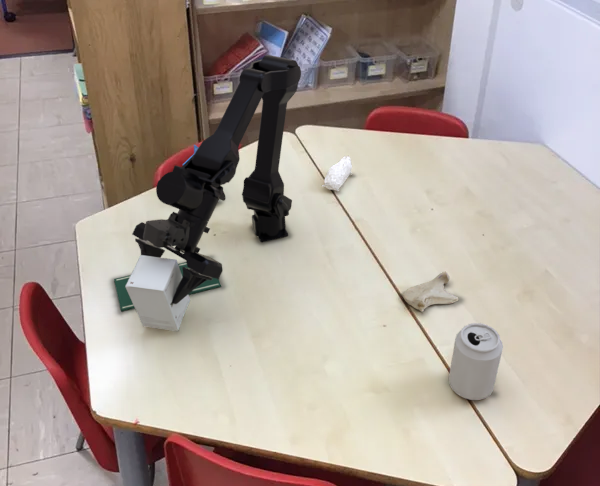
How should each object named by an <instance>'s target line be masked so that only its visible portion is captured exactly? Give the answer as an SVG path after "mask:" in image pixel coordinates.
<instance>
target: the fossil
mask: <svg viewBox="0 0 600 486" xmlns="http://www.w3.org/2000/svg"><path fill="white" fill-rule="evenodd" d="M450 279H451V278H450V275H449V273H448V272H447V271H442V272H440V273H439V274H438V275H436V277H434V278H433V279H431V280H428V281H426V282H423V283H421V284H417V285H414V286H411V287H409V288H407V289H406V290H405V291H404V292H403V294H402V297H403V299H404V301H405V302H406V303H407V305H410V306H412V308H414V309H416V310H417V311H420V312H424V310H425V309H426V308H428V307H429V306H432V305H449V304H450V305H451V304H454V303H456V302H458V301H459V297H458V296H456V295H455V294H452V293H451V292H449V291H447V290H446V289H445V286H444V285H447V284H448V283H449V282H450Z"/></svg>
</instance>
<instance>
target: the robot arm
mask: <svg viewBox="0 0 600 486" xmlns="http://www.w3.org/2000/svg"><path fill="white" fill-rule="evenodd" d="M301 77H302V70H301V66H300V65H299V64H298V62H297V61H296V60H294V59H291V58H286V57H281V56H276V55H272V54H265V55H264V56H263V57H262V59H258V60H255V61H252V62H251V63H250V66H249V67H247V68H244V69H243V70H242V71H241V73H240V75H239V83H238V84H237V87H236V89H235V91H234V93H233V94H232V97H231V99H230V101H229V103H228V104H227V107H226V109H225V111H224V114H223V115H222V118H221V120H220V121H219V124H218V126H217V127H216V129H215V131H214V132H213V133H212V134H211V135H209V136H207V138H205V139H203V141H202V142H201V143H200V145H199V146H198V147H199V148H198V149H197V151H196V153H195V154H194V153H193V154H194V155H193V154H192V155H193V156H192V155H191V156H192V157H191V156H190V157H191V158H190V157H189V158H190V159H189V158H188V159H189V160H188V159H187V160H188V161H187V160H186V161H187V162H186V161H185V162H186V163H185V162H184V163H185V164H184V163H183V164H184V165H183V164H182V166H179V165H177V164H176V165H174V166H173V169H172V171H169V172H166V173H165V174H163V175H162V177H161V178H160V179H159V180H158V181H157V184H156V187H155V193H156V197H157V199H158V200H159V201H160V202H161V203H163V204H165V205H167V206H169V207H172V208H175V209H178V210H177V211H178V212H175V211H172V213H170V215H169V217H168V218H167V219H163V218H160V219H152V220H146V221H145V222H144V221H143V222H142V221H141V222H139V223H138V224H136V226H135V227H134V229H133V231H132V233H131V235H132V236H134V237H136V238H135V239H134V240H135V243H136V244H137V245H138V247H139V250H140V255H145V256H152V257H160V258H162V256H163V255H164V253H165V252H166V250H167V251H169V252H170V253H173V254H174V255H176V256H178V257H179V258H181V259H182V260H184V261H185V262H187V267H189V268H190V269H189V268H186V267H182V268H183V278H182V279H181V282H180V284H179V286H178V288H177V290H176V292H175V294H174V297H173V300H172V303H173V304H177V303H178V302H180V301H181V300H182V299H183V298H184V297H186V296H187V295H188V294H189V293H190V292H192V291H193V290H194V289H195V288H197V287H198V286H199V285H201V284H202V283H204V282H205V281H207V280H210V281H212V279H213V278H216V279H219V280H220V278H221V275H222V274H223V270H224V267H223V263H221V262H220V261H218V260H216V259H214V258H212V257H211V256H208V255H205V254H202V253H199V252H200V251H201V248H200V247H198V245H199V242H200V241H201V238H202V236H203V234H204V233H205V234H209V232H210V230H211V228H210V227H209V226H208V224H209V222H210V220H211V217H212V215H213V213H214V211H215V209H216V207H217V205H218V204H219V201H222V202H225V201H226V199H227V197H226V194H225V192H224V187H223V186H222V185H226V184H227V183H228V184H229V183H230V182H231V181H232V180H233V179H234V177H235V175H236V173H237V168H238V165H239V163H240V150H239V147H240V144H241V142H242V139H243V138H244V136H245V133H246V131H247V130H248V127H249V126H250V124H251V121H252V119H253V117H254V115H255V112H256V111H257V108H258V107H259V104H260V102H261V100H262V105H261V113H260V121H259V131H258V140H257V148H256V155H255V165H254V169H253V171H252V172H251V173H250V174H249V175H248V176H247V177H245V178H244V179H243V188H242V192H241V196H242V202H243V203H244V204H245V207H246V209H247V210H250V211H253V214H252V215H251V225H252V231H253V233H254V235H255V236H256V237H257V238H258V240H259V242H260V243H266V242H271V241H276V240H279V239H284V238H287V237H289V232H288V231H287V229H286V228H287V227H286V217H288V216H289V215H290V211H291V210H292V206H293V205H292V204H293V199H291V198H289V197H288V196H286V195H285V183H284V180H283V178H282V176H281V174H280V172H279V170H280V169H279V168H280V162H281V161H280V160H281V155H282V154H281V153H282V145H283V137H284V130H285V121H286V115H287V106H288V103H289V101H290V100H291V99H292V97H293V96H294V95H295V94H296V93H297V92H298V91H297V90H298V86H299V83H300V80H301Z"/></svg>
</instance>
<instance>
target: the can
mask: <svg viewBox="0 0 600 486" xmlns="http://www.w3.org/2000/svg"><path fill="white" fill-rule="evenodd" d="M503 349H504V345H503V341H502V339H501V336H500V333H499V332H498V331H497V329H495V328H494V327H492V326H490V325H488V324H485V323H483V322H472V323H468V324H466V325H464V326H463V327H462V328H461V329H460V330H459V331H458V332H457V333H456V336H455V339H454V343H453V350H452V356H451V362H450V367H449V368H450V369H449V375H448V383H449V386H450V388H451V390H452V391H453V392H454V393H455V394H456V395H458V396H459V397H462V398H463V399H466V400H470V401H479V400H484V399H486V398H488V397H489V396H491V394H492V393H493V392H494V390H495V389H494V388H495V384H496V380H497V375H498V371H499V366H500V363H501V357H502V354H503Z"/></svg>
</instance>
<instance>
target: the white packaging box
mask: <svg viewBox="0 0 600 486" xmlns="http://www.w3.org/2000/svg"><path fill="white" fill-rule="evenodd" d="M178 264H179V263H178V260H177V259H175V258H167V257H161V258H160V257H152V256H145V255H141V254H140V255H139V257H138V259H137V261H136V263H135V265H134V268H133V269H132V271H131V273H130V274H129V275H130V278H129V280H128V282H127V284H126V286H125V287H126V289H127V292H128V294H129V296H130V298H131V300H132V303H133V305H134V307H135V308H134V309H135V312H136V313H137V316H138V318H139V320H140V323H141V326H142V327H146V328H152V329H159V330H166V331H171V332H172V331H173V332H178V331H179V330H180V328H181V324H182V321H183V319H184V316H185V314H186V312H187V309H188V307H189V304H190V302H191V298H190V295H187V296H186V297H184V298H183V299H182V300H181V301H180V302H178V303H177V304H173V303H172V300H173V297H174V294H175V292H176V290H177V288H178V286H179V284H180V282H181V279H182V278H183V277H182V274H181V271H180V268H179V265H178Z"/></svg>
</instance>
